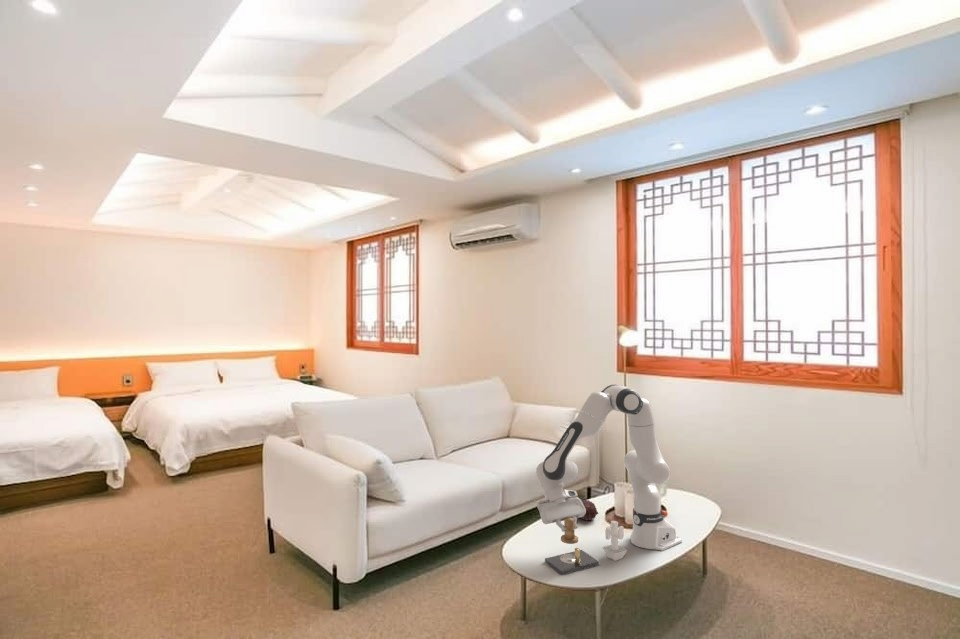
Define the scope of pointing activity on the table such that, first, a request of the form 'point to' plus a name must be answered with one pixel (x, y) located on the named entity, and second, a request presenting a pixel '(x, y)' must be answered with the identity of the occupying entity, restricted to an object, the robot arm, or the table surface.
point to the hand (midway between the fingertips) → (570, 529)
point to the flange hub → (569, 532)
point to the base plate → (571, 562)
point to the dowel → (577, 556)
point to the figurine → (614, 541)
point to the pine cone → (589, 510)
